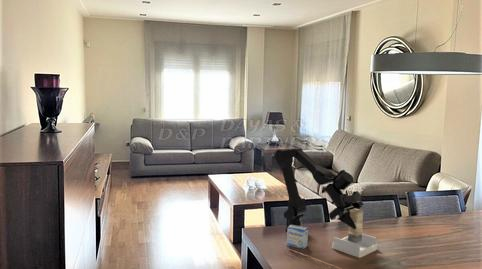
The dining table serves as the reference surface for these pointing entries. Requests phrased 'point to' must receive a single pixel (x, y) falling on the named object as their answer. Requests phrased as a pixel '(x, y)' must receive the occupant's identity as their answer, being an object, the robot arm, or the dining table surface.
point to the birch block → (356, 234)
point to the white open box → (356, 245)
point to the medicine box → (297, 236)
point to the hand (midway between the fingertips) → (358, 227)
